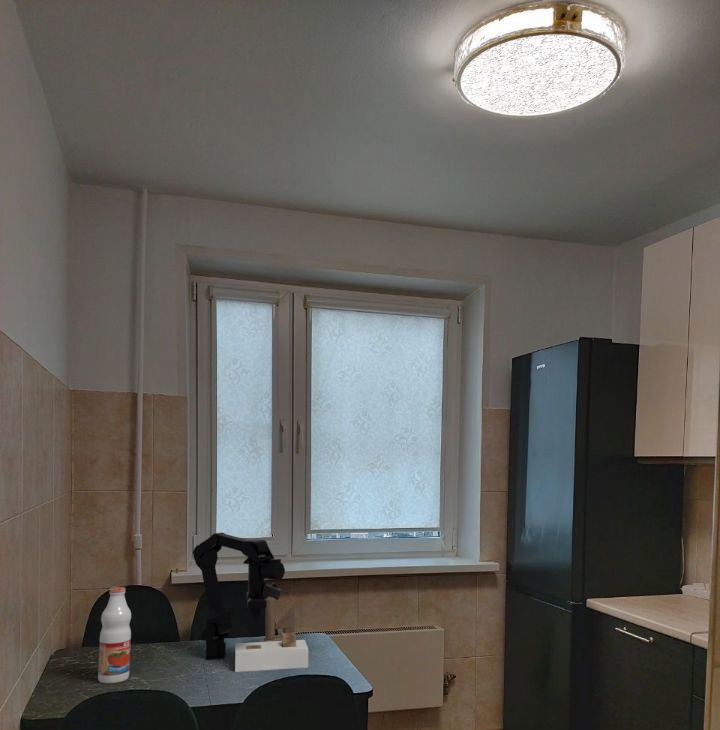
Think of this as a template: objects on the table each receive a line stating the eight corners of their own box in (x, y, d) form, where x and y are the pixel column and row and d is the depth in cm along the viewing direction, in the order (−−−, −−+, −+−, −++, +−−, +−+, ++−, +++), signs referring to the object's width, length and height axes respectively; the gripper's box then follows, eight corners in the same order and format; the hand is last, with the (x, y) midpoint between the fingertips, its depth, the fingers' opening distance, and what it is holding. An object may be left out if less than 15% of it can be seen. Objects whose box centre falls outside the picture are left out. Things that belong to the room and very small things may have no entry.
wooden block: (294, 648, 250) (294, 597, 252) (265, 651, 246) (266, 599, 249) (291, 645, 253) (292, 595, 256) (263, 648, 249) (264, 597, 252)
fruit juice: (114, 673, 221) (118, 584, 225) (135, 677, 216) (139, 586, 220) (91, 681, 213) (95, 589, 217) (112, 685, 208) (116, 591, 212)
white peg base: (235, 671, 221) (235, 652, 222) (235, 661, 233) (235, 643, 234) (308, 667, 226) (308, 648, 227) (304, 657, 237) (304, 639, 238)
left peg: (246, 666, 226) (247, 649, 227) (246, 662, 230) (246, 645, 231) (260, 665, 227) (260, 648, 227) (259, 661, 231) (259, 645, 232)
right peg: (282, 652, 229) (283, 636, 229) (281, 649, 233) (282, 633, 234) (295, 652, 229) (296, 635, 230) (294, 648, 234) (294, 632, 234)
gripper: (281, 581, 225) (281, 630, 223) (278, 572, 243) (278, 617, 241) (248, 582, 223) (247, 632, 221) (247, 573, 241) (246, 619, 239)
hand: (256, 625), depth 230 cm, fingers closed
